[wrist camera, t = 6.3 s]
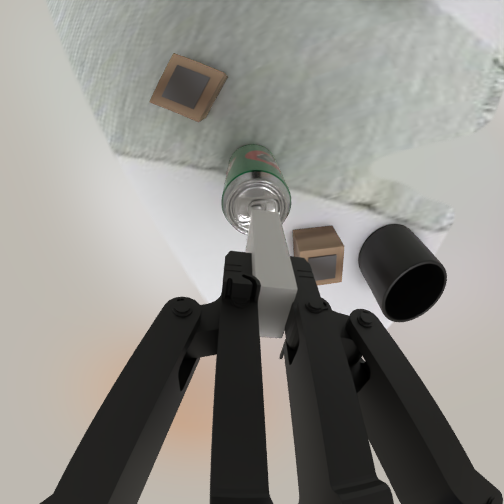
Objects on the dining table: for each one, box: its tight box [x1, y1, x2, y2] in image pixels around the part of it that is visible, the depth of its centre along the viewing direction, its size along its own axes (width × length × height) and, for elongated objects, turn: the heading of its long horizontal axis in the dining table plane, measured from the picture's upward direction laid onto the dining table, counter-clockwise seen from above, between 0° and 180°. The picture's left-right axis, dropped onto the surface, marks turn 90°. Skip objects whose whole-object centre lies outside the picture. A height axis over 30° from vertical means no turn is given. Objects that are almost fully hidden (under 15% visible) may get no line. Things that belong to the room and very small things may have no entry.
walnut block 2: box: [293, 226, 344, 285], centre depth 33 cm, size 5×5×5 cm
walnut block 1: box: [150, 53, 228, 122], centre depth 22 cm, size 5×5×5 cm
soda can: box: [222, 144, 291, 235], centre depth 24 cm, size 5×5×12 cm
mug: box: [359, 225, 447, 322], centre depth 33 cm, size 9×12×9 cm
